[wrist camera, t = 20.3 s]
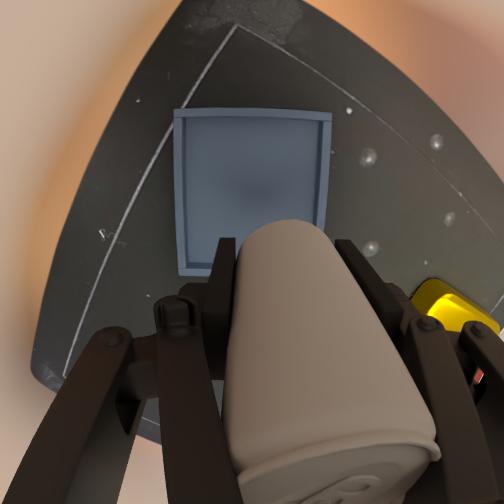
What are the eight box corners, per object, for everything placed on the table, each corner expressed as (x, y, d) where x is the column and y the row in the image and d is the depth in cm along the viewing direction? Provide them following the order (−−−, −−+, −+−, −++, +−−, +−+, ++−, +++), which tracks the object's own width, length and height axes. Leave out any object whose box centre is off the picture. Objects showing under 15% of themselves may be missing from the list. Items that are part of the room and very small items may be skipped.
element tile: (427, 271, 33) (447, 290, 29) (489, 312, 36) (507, 330, 32) (356, 366, 38) (366, 392, 34) (426, 389, 41) (438, 411, 37)
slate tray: (178, 110, 27) (173, 108, 25) (326, 113, 27) (332, 112, 26) (182, 266, 33) (178, 275, 31) (315, 269, 33) (319, 278, 31)
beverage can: (216, 271, 16) (171, 510, 5) (276, 193, 15) (347, 402, 4) (291, 319, 17) (329, 539, 6) (352, 252, 16) (480, 454, 5)
